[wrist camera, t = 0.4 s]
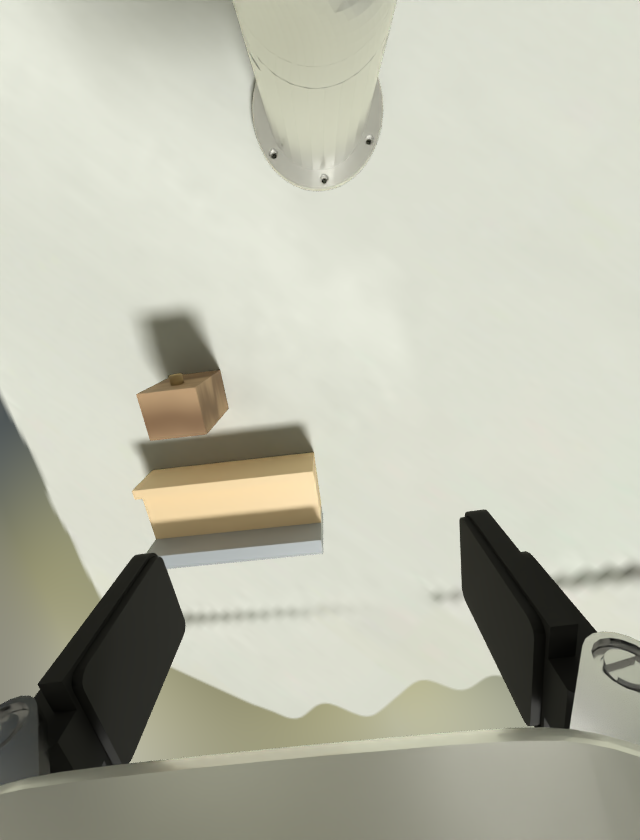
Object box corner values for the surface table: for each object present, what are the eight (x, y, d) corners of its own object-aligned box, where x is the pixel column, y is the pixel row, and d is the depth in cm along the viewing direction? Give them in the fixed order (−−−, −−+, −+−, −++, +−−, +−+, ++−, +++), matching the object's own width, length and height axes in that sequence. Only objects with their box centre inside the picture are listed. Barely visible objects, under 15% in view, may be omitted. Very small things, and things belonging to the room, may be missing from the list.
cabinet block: (170, 367, 43) (133, 384, 35) (218, 361, 43) (192, 377, 34) (182, 413, 45) (150, 440, 36) (228, 408, 45) (206, 434, 36)
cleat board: (152, 470, 48) (123, 499, 40) (313, 452, 47) (312, 479, 39) (172, 532, 51) (147, 570, 44) (322, 517, 50) (323, 553, 43)
